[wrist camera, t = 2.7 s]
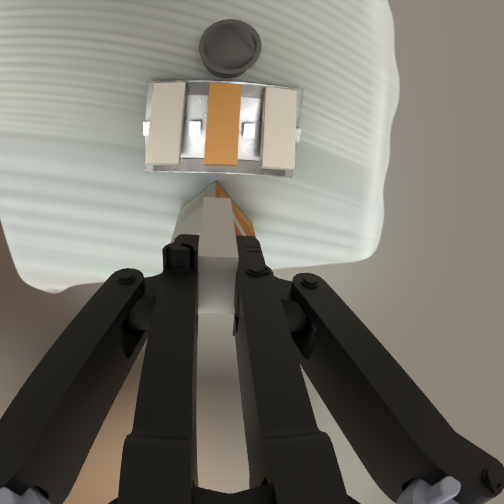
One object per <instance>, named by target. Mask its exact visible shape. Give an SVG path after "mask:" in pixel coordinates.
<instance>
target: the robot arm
mask: <svg viewBox="0 0 504 504" xmlns="http://www.w3.org/2000/svg"><path fill="white" fill-rule="evenodd" d="M162 250H163V272H162V273H161V274H159V275H156V276H152V277H146V278H144V276H143V273H142V272H140V271H139V270H136V269H130V268H126V269H121V270H118V271H116V272H114V273H113V274H112V275H111V276H110V277H109V278H108V279H107V280H106V282H105V283H104V284H103V285H102V286H101V287H100V288H99V290H98V291H97V292H96V293H95V294H94V295H93V296H92V298H91V299H90V300H89V301H88V302H87V303H86V305H85V306H84V307H83V308H82V309H81V311H80V312H79V313H78V314H77V315H76V317H75V318H74V319H73V320H72V322H71V323H70V324H69V325H68V326H67V328H66V329H65V330H64V331H63V333H62V334H61V335H60V337H59V338H58V339H57V340H56V342H55V343H54V344H53V345H52V347H51V348H50V349H49V351H48V352H47V353H46V355H45V356H44V357H43V359H42V360H41V361H40V363H39V364H38V365H37V367H36V368H35V369H34V371H33V372H32V373H31V375H30V376H29V378H28V379H27V380H26V382H25V383H24V385H23V386H22V388H21V389H20V390H19V392H18V394H17V395H16V397H15V398H14V399H13V401H12V402H11V404H10V405H9V407H8V408H7V410H6V411H5V413H4V415H3V416H2V418H1V419H0V504H63V502H64V501H65V499H66V497H67V496H68V495H69V493H70V491H71V489H72V487H73V485H74V483H75V481H76V479H77V477H78V475H79V473H80V470H81V468H82V466H83V464H84V462H85V460H86V457H87V455H88V453H89V451H90V449H91V447H92V445H93V443H94V440H95V438H96V436H97V434H98V432H99V430H100V428H101V426H102V424H103V422H104V420H105V418H106V416H107V414H108V412H109V410H110V408H111V406H112V404H113V402H114V400H115V398H116V396H117V394H118V392H119V390H120V388H121V387H122V385H123V383H124V381H125V379H126V377H127V375H128V373H129V371H130V369H131V367H132V366H133V364H134V362H135V360H136V358H137V356H138V354H139V353H140V351H141V349H142V347H143V345H144V343H145V341H146V340H147V345H146V350H145V356H144V361H143V366H142V371H141V378H140V383H139V389H138V396H137V402H136V409H135V417H134V423H133V430H132V432H131V434H129V435H127V437H126V439H125V441H124V446H123V453H122V462H121V471H120V481H119V493H118V498H116V499H114V500H113V501H111V502H110V503H109V504H360V503H359V502H357V501H356V500H354V499H353V498H352V497H350V496H348V495H347V493H346V489H345V486H344V482H343V479H342V475H341V472H340V468H339V465H338V462H337V458H336V455H335V451H334V448H333V444H332V442H331V440H330V437H329V436H328V435H327V433H325V432H322V431H320V430H319V429H318V427H317V424H316V421H315V417H314V413H313V410H312V406H311V403H310V399H309V395H308V392H307V389H306V385H305V381H304V378H303V375H302V371H301V367H300V365H301V366H302V368H303V370H304V371H305V373H306V374H307V376H308V378H309V379H310V381H311V382H312V384H313V386H314V387H315V389H316V391H317V392H318V394H319V395H320V397H321V399H322V400H323V402H324V403H325V405H326V406H327V408H328V410H329V411H330V413H331V414H332V416H333V418H334V419H335V421H336V422H337V424H338V425H339V427H340V429H341V430H342V432H343V433H344V435H345V437H346V438H347V440H348V441H349V443H350V444H351V446H352V447H353V449H354V451H355V452H356V454H357V455H358V457H359V459H360V460H361V462H362V463H363V465H364V466H365V468H366V469H367V471H368V472H369V474H370V476H371V477H372V478H373V480H374V481H375V483H376V484H377V485H378V486H379V488H380V489H381V490H382V491H383V492H384V493H385V494H386V495H387V496H388V497H389V498H390V499H391V500H392V501H393V502H395V503H396V504H484V503H486V502H487V501H489V500H491V499H493V498H494V497H496V496H497V495H498V494H500V493H501V492H502V490H503V488H504V467H503V465H502V464H501V463H500V462H499V461H498V460H497V459H496V458H494V457H492V456H491V455H489V454H488V453H486V452H485V451H483V450H482V449H480V448H479V447H477V446H476V445H474V444H473V443H471V442H470V441H468V440H467V439H465V438H464V437H462V436H461V435H459V434H458V433H456V432H455V431H454V430H453V429H452V427H451V426H450V425H449V424H448V422H447V421H446V420H445V419H444V418H443V416H442V415H441V414H440V413H439V411H438V410H437V409H436V408H435V407H434V405H433V404H432V403H431V402H430V400H429V399H428V398H427V397H426V396H425V394H424V393H423V392H422V391H421V390H420V389H419V387H418V386H417V385H416V384H415V383H414V381H413V380H412V379H411V378H410V377H409V375H408V374H407V373H406V372H405V371H404V370H403V368H402V367H401V366H400V365H399V364H398V363H397V361H396V360H395V359H394V358H393V357H392V356H391V354H390V353H389V352H388V351H387V350H386V349H385V348H384V347H383V345H382V344H381V343H380V342H379V341H378V340H377V339H376V337H375V336H374V335H373V334H372V333H371V332H370V330H368V328H367V327H366V326H365V325H364V324H363V323H362V322H361V320H360V319H359V318H358V317H357V316H356V315H355V314H354V313H353V311H352V310H351V309H350V308H349V307H348V306H347V305H346V304H345V303H344V302H343V300H342V299H341V298H340V297H339V296H338V295H337V294H336V293H335V292H334V291H333V290H332V288H331V287H330V286H329V285H328V284H327V283H326V282H325V281H324V280H323V279H322V278H321V277H319V276H317V275H315V274H310V273H300V274H296V275H295V276H294V277H293V281H287V280H283V279H279V278H277V277H275V276H274V275H273V272H272V270H271V269H270V268H269V267H268V266H266V264H265V261H264V257H263V254H262V250H261V246H260V243H259V241H258V240H257V239H256V238H255V237H254V236H240V235H235V227H234V220H233V213H232V205H231V198H213V197H204V200H203V209H202V218H201V227H200V235H194V234H180V235H178V236H177V237H176V238H175V239H174V243H170V244H168V245H166V246H165V247H164V248H163V249H162ZM234 310H235V315H234V328H233V336H235V339H236V351H237V361H238V370H239V381H240V391H241V400H242V410H243V419H244V428H245V437H246V445H247V453H248V462H249V472H250V479H249V480H250V481H249V482H250V483H249V486H250V489H248V490H245V491H241V492H237V493H232V494H228V493H222V492H217V491H213V490H208V489H204V488H200V487H198V475H197V438H196V437H197V436H196V380H197V379H196V377H197V375H196V374H197V336H198V314H199V313H200V314H234ZM147 338H148V339H147ZM299 363H300V364H299Z"/></svg>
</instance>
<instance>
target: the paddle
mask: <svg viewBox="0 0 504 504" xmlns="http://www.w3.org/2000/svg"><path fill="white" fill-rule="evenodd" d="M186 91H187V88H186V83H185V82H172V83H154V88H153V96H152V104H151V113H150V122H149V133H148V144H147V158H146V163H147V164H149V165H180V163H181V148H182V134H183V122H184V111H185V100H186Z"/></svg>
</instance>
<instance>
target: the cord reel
mask: <svg viewBox="0 0 504 504" xmlns="http://www.w3.org/2000/svg"><path fill="white" fill-rule="evenodd" d="M199 51H200V55H201V57H202V60H203V61H204V64H205V66H206V68H207V69H208V71H209V72H211V73H212V74H213V75H215V76H218V77H221V78H233V77H236V76H239V75H241V74H242V73H244V72H245V71H246V70H247V69H248V68H250V67H251V66H252V65H253V64H254V63H255V62H256V61H257V59H258V57H259V55H260V52H261V40H260V37H259V35H258V33H257V32H256V30H255V29H254V28H253V27H252V26H250V25H249V24H247V23H245V22H243V21H239V20H234V19H228V20H222V21H219V22H216V23H214V24H213V25H211V26H210V27H209V28H207V30H206V31H205V32H204V33H203V35H202V37H201V39H200V43H199Z"/></svg>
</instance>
